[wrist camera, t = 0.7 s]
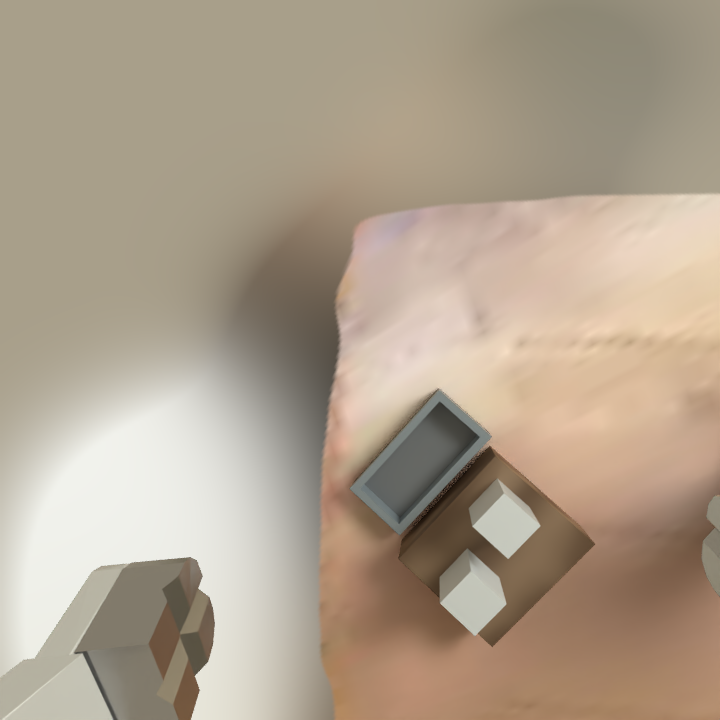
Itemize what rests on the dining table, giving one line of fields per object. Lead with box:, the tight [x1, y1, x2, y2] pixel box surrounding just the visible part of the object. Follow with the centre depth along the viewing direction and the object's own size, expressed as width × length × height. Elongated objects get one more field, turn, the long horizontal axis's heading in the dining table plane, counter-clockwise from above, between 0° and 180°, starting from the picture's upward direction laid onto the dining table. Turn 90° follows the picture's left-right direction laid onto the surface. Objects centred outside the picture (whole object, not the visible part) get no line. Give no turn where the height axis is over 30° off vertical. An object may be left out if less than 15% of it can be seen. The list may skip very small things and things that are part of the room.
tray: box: [350, 389, 492, 535], centre depth 52 cm, size 7×14×2 cm, turn 139°
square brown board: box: [399, 446, 595, 647], centre depth 50 cm, size 12×14×5 cm
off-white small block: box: [440, 548, 506, 636], centre depth 45 cm, size 4×4×5 cm
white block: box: [469, 479, 540, 559], centre depth 44 cm, size 4×4×5 cm
